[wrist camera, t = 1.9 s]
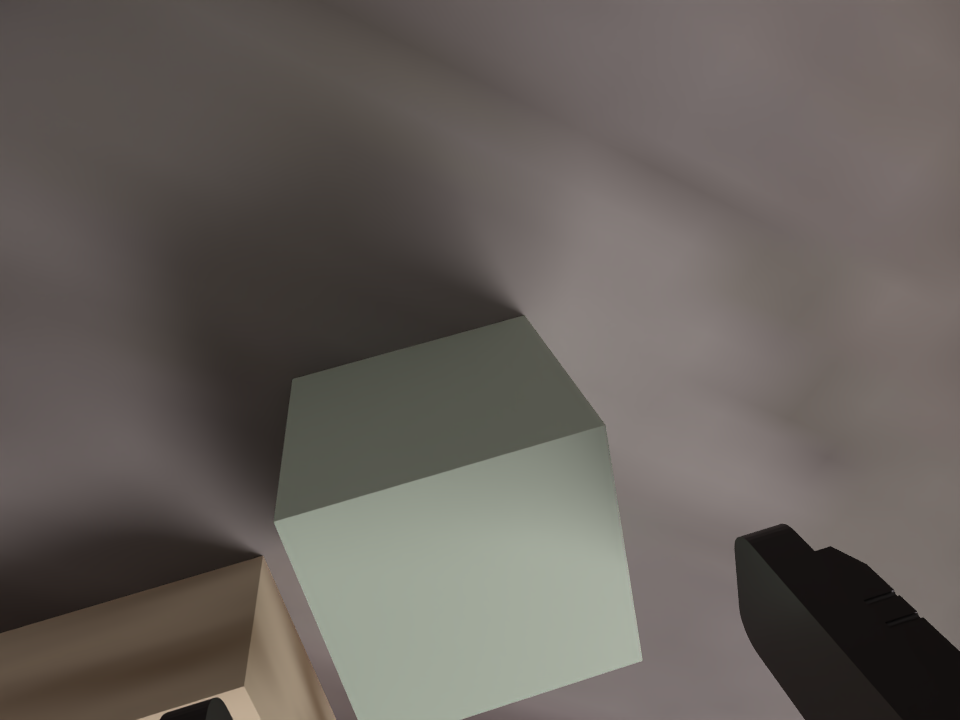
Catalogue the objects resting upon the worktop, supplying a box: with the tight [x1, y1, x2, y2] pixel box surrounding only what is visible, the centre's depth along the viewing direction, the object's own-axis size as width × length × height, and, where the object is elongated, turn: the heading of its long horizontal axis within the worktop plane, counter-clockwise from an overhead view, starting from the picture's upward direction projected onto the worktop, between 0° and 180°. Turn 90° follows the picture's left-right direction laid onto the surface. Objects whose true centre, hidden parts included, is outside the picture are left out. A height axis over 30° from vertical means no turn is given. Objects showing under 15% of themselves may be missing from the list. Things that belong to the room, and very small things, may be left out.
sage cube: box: [274, 316, 643, 720], centre depth 13 cm, size 5×5×5 cm
